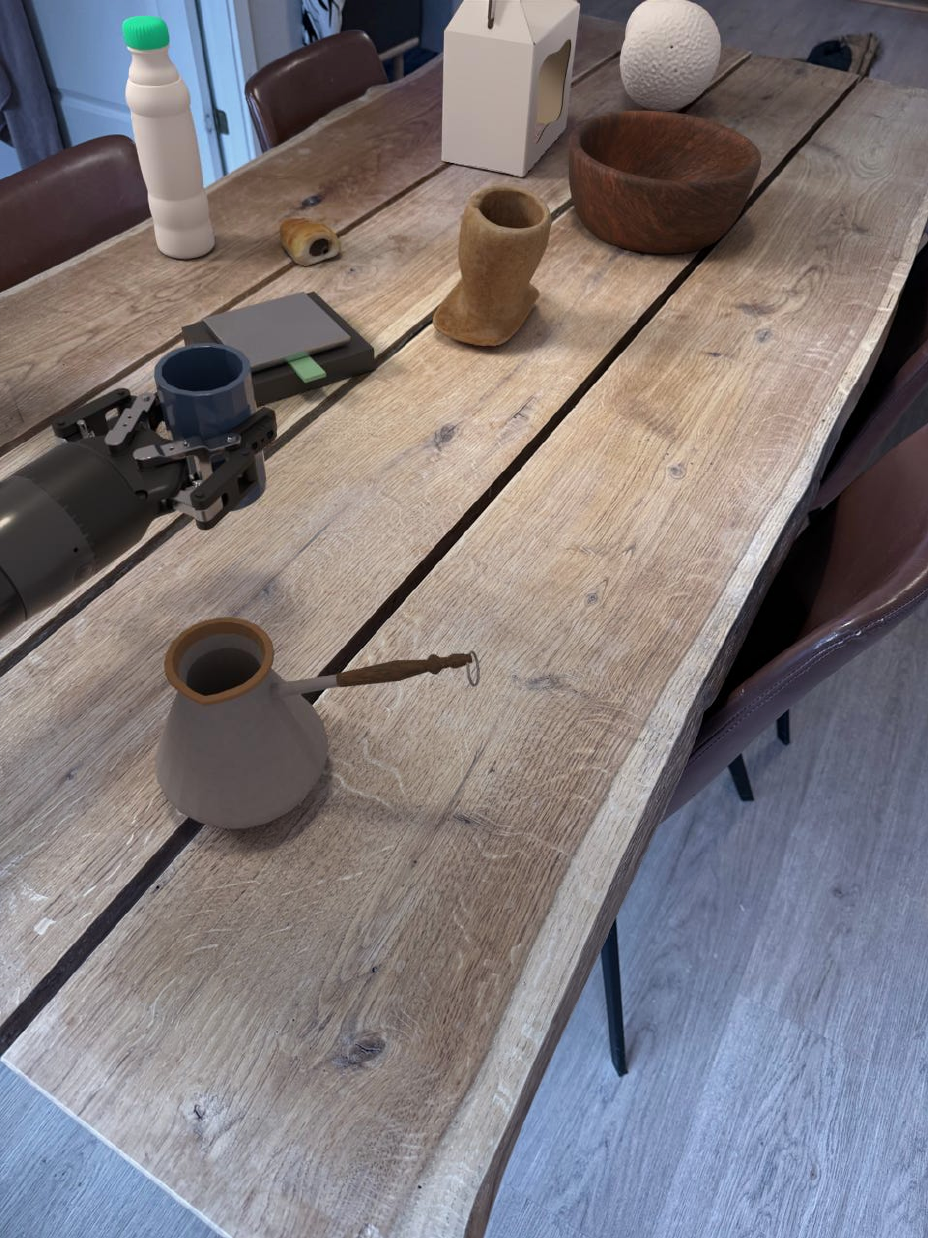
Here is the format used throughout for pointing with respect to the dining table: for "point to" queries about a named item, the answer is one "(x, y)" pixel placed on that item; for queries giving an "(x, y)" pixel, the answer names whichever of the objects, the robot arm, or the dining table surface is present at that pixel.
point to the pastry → (308, 241)
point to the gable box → (506, 81)
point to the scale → (302, 362)
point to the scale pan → (277, 330)
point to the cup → (207, 398)
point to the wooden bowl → (659, 179)
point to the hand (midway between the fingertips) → (234, 402)
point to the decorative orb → (669, 53)
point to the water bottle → (166, 142)
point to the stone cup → (495, 265)
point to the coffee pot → (251, 723)
